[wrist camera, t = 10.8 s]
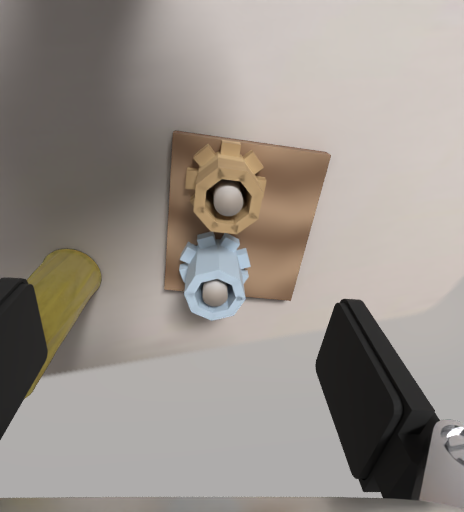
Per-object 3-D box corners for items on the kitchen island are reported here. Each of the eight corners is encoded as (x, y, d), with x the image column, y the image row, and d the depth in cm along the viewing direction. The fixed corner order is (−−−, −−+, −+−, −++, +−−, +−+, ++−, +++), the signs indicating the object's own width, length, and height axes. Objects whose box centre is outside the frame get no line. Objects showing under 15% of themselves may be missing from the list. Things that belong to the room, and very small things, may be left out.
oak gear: (190, 135, 28) (184, 147, 22) (270, 146, 28) (283, 161, 23) (184, 212, 31) (178, 239, 26) (256, 220, 32) (264, 248, 26)
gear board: (174, 130, 29) (162, 145, 22) (325, 151, 30) (357, 171, 24) (166, 281, 36) (155, 326, 30) (288, 293, 38) (303, 337, 31)
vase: (111, 267, 35) (54, 371, 22) (86, 305, 37) (21, 419, 25) (56, 237, 33) (-40, 333, 20) (33, 279, 35) (-67, 388, 23)
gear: (171, 241, 32) (163, 272, 27) (239, 223, 32) (244, 252, 26) (192, 297, 35) (189, 334, 30) (255, 282, 35) (262, 317, 30)
